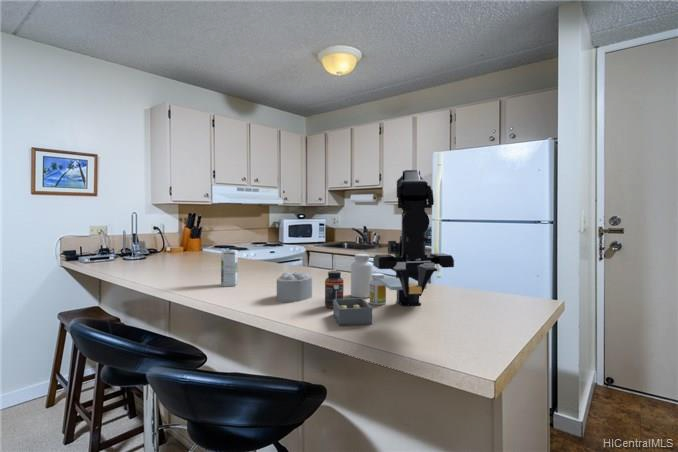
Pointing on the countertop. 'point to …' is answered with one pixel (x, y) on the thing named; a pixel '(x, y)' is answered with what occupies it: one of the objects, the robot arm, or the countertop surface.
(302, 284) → the lumpy-topped squat cylinder
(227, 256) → the syrup box
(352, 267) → the pill bottle
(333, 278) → the supplement bottle
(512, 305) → the countertop surface
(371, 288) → the supplement bottle
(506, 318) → the countertop surface
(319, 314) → the countertop surface
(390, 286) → the lid
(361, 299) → the tub
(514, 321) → the countertop surface
